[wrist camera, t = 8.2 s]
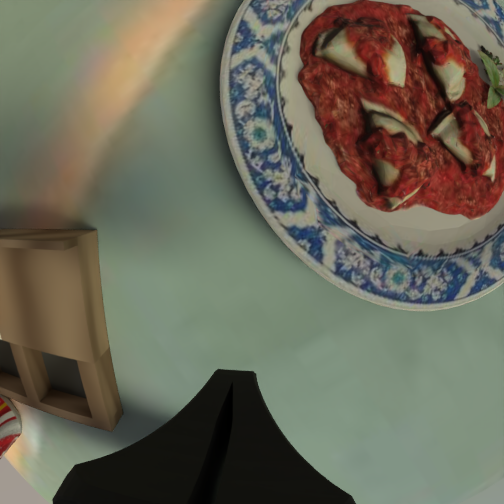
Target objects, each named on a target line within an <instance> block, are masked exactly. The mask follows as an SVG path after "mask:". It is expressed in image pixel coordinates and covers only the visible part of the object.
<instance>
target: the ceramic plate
mask: <svg viewBox="0 0 504 504" xmlns="http://www.w3.org/2000/svg"><path fill="white" fill-rule="evenodd" d="M220 102H221V110H222V117H223V124H224V128H225V132H226V136H227V140H228V144H229V147H230V150H231V153H232V156H233V159H234V162H235V164H236V167H237V169H238V172H239V174H240V176H241V178H242V180H243V182H244V185H245V187H246V189H247V191H248V192H249V194H250V196H251V197H252V199H253V201H254V203H255V204H256V206H257V208H258V209H259V211H260V212H261V214H262V215H263V217H264V218H265V219H266V221H267V222H268V224H269V225H270V226H271V228H272V229H273V230H274V232H275V233H276V234H277V235H278V236H279V237H280V238H281V240H282V241H283V242H284V243H285V244H286V245H287V247H288V248H289V249H290V250H291V251H292V252H294V253H295V254H296V255H297V256H298V257H299V258H300V259H301V260H302V261H303V262H304V263H305V264H306V265H308V266H309V267H310V268H311V269H313V270H314V271H315V272H317V273H318V274H319V275H320V276H322V277H323V278H325V279H326V280H328V281H329V282H331V283H332V284H334V285H336V286H337V287H339V288H340V289H342V290H344V291H346V292H348V293H350V294H352V295H354V296H356V297H358V298H361V299H364V300H366V301H369V302H372V303H375V304H378V305H382V306H386V307H390V308H394V309H401V310H409V311H434V310H442V309H448V308H452V307H456V306H460V305H463V304H466V303H469V302H471V301H474V300H476V299H478V298H480V297H482V296H484V295H486V294H488V293H490V292H491V291H493V290H494V289H496V288H497V287H499V286H500V285H501V284H503V283H504V8H503V7H502V6H501V5H500V4H499V3H498V2H497V1H496V0H244V1H243V3H242V4H241V6H240V7H239V9H238V11H237V13H236V15H235V17H234V19H233V21H232V23H231V26H230V29H229V32H228V35H227V38H226V41H225V46H224V51H223V56H222V61H221V71H220Z"/></svg>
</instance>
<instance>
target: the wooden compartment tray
mask: <svg viewBox="0 0 504 504" xmlns="http://www.w3.org/2000/svg"><path fill="white" fill-rule="evenodd" d="M0 394H2V395H4V396H7V397H9V398H11V399H14V400H16V401H18V402H21V403H23V404H26V405H28V406H31V407H34V408H36V409H39V410H42V411H44V412H47V413H50V414H53V415H56V416H59V417H62V418H65V419H68V420H71V421H75V422H78V423H81V424H85V425H88V426H92V427H95V428H99V429H103V430H107V431H111V432H113V430H114V428H115V427H116V425H117V423H118V421H119V420H120V418H121V416H122V414H123V410H122V406H121V402H120V397H119V393H118V389H117V384H116V379H115V374H114V369H113V364H112V359H111V353H110V347H109V341H108V335H107V328H106V322H105V314H104V307H103V298H102V289H101V279H100V268H99V255H98V239H97V230H62V229H0Z"/></svg>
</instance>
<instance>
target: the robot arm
mask: <svg viewBox="0 0 504 504" xmlns="http://www.w3.org/2000/svg"><path fill="white" fill-rule="evenodd" d="M53 504H356V503H355V501H354V499H353V498H352V496H351V495H349V494H348V493H346V492H345V491H343V490H342V489H340V488H339V487H337V486H336V485H334V484H333V483H331V482H330V481H329V480H327V479H326V478H325V477H324V476H322V475H321V474H320V473H319V472H318V471H316V470H315V469H314V468H313V467H312V466H311V465H310V464H309V463H308V462H307V461H306V460H305V459H304V458H303V457H302V456H301V455H300V454H299V453H298V452H297V451H296V449H295V448H294V447H293V446H292V445H291V444H290V442H289V441H288V440H287V438H286V437H285V436H284V434H283V433H282V431H281V430H280V429H279V427H278V425H277V424H276V422H275V420H274V419H273V417H272V415H271V414H270V412H269V410H268V408H267V406H266V403H265V401H264V399H263V397H262V394H261V392H260V389H259V386H258V382H257V378H256V374H255V373H254V372H253V371H238V370H223V369H218V370H216V371H215V372H214V374H213V375H212V376H211V378H210V379H209V380H208V382H207V383H206V384H205V385H204V387H203V388H202V389H201V390H200V391H199V392H198V394H197V395H196V396H195V397H194V398H193V399H192V400H191V401H190V402H189V403H188V404H187V405H186V406H185V407H184V408H183V409H182V410H181V411H180V412H179V413H178V414H176V415H175V416H174V417H173V418H172V419H171V420H169V421H168V422H167V423H166V424H164V425H163V426H161V427H160V428H159V429H157V430H156V431H154V432H153V433H151V434H150V435H148V436H146V437H145V438H143V439H141V440H140V441H138V442H136V443H134V444H132V445H130V446H128V447H126V448H124V449H122V450H119V451H117V452H115V453H112V454H110V455H107V456H104V457H101V458H98V459H94V460H91V461H88V462H84V463H80V464H76V465H75V466H74V467H73V468H72V470H71V471H70V472H69V473H68V474H67V476H66V478H65V479H64V481H63V482H62V484H61V486H60V487H59V489H58V491H57V492H56V494H55V496H54V498H53Z"/></svg>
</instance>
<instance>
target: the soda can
mask: <svg viewBox="0 0 504 504" xmlns="http://www.w3.org/2000/svg"><path fill="white" fill-rule="evenodd" d="M21 433H22V423H21V418H20V415H19V413H18V411H17V410H16V408H15V406H14V405H13V404H12V402H11V401H10V400H9V399H8V398H7V397H6V396H4V395H2V394H0V459H1V458H2V456H3V455H4V454H5V453H6V452H7V450H8V449H9V448H10V447H11V445H12V444H13V443H14V442H15V441H16V439H17V438H18V437H19V436H20V434H21Z"/></svg>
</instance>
